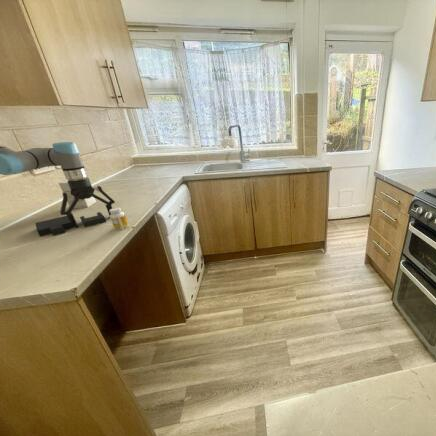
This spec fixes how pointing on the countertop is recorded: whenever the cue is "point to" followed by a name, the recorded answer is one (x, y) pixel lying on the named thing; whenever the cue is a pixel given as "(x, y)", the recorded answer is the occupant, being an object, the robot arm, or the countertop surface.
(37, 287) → the countertop surface
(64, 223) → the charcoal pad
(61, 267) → the countertop surface
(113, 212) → the supplement bottle
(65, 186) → the rectangular carton
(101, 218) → the black pad
